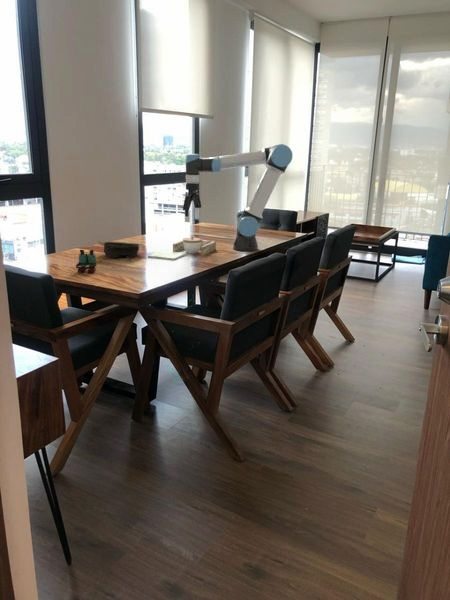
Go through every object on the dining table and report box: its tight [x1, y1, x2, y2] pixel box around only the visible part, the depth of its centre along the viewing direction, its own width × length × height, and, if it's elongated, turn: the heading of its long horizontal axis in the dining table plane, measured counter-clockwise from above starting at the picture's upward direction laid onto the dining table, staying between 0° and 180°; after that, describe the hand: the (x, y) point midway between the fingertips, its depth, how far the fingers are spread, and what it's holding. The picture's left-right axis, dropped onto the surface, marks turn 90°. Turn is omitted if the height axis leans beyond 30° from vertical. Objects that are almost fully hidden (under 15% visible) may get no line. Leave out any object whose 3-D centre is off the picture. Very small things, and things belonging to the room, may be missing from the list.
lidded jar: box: [182, 235, 202, 254], centre depth 287 cm, size 11×11×9 cm
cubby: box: [172, 239, 217, 257], centre depth 291 cm, size 19×20×5 cm
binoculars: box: [75, 249, 98, 274], centre depth 235 cm, size 9×11×10 cm
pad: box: [147, 250, 187, 261], centre depth 276 cm, size 16×16×1 cm
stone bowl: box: [98, 241, 145, 259], centre depth 273 cm, size 25×25×9 cm
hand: (192, 220), depth 283 cm, fingers open, 13 cm apart
